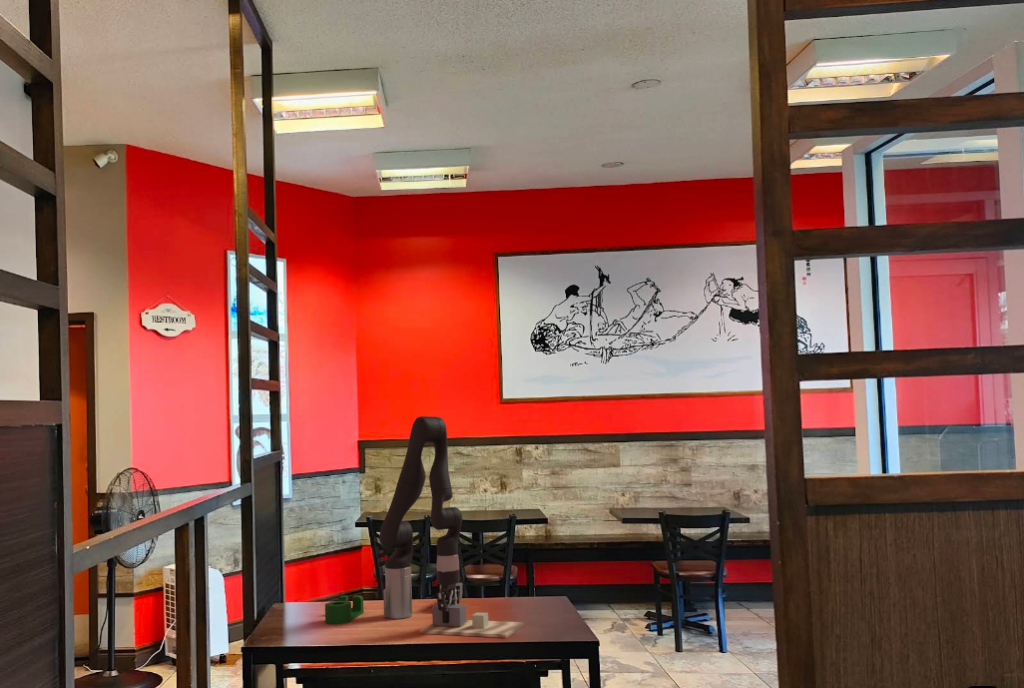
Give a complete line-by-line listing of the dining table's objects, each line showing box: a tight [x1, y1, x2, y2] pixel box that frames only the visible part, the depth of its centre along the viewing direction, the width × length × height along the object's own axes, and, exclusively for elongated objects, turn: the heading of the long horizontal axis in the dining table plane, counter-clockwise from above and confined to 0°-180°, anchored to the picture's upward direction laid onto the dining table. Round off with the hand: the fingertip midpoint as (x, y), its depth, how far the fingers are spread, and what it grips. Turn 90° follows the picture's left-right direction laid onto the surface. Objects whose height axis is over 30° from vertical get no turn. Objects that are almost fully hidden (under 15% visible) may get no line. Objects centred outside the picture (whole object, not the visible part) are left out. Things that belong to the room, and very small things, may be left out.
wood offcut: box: [471, 612, 489, 628], centre depth 258 cm, size 4×4×4 cm
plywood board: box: [419, 619, 524, 639], centre depth 259 cm, size 30×16×1 cm, turn 70°
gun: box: [436, 582, 464, 605], centre depth 299 cm, size 3×25×15 cm, turn 166°
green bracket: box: [324, 594, 365, 626], centre depth 283 cm, size 18×9×6 cm, turn 171°
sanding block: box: [431, 603, 467, 627], centre depth 262 cm, size 10×5×6 cm, turn 70°
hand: (449, 620), depth 262 cm, fingers closed on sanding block, 5 cm apart
